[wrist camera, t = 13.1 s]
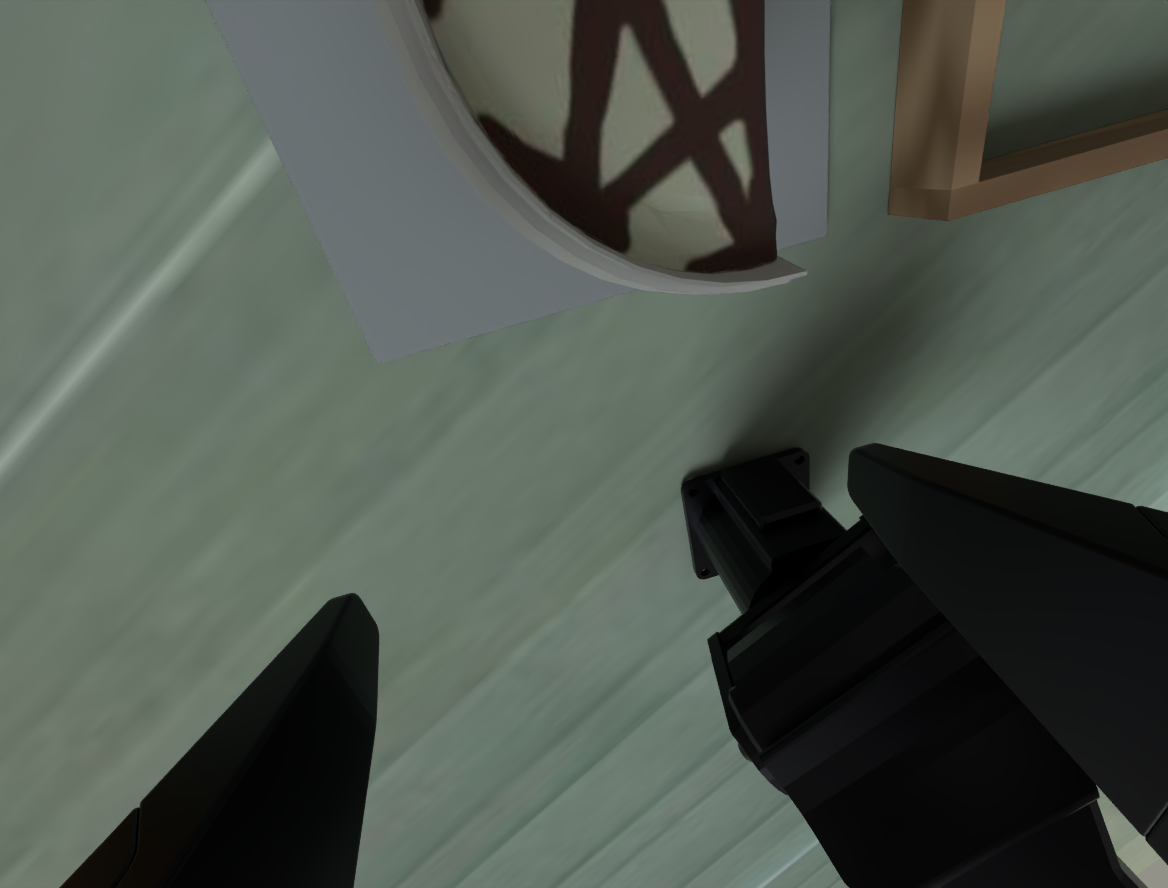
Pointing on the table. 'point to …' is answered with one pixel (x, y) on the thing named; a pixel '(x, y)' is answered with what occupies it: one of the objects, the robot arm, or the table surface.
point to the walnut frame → (983, 122)
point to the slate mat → (440, 190)
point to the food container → (607, 130)
